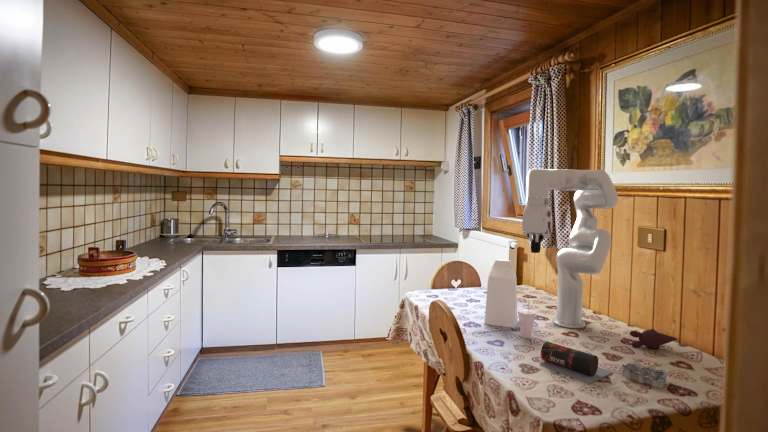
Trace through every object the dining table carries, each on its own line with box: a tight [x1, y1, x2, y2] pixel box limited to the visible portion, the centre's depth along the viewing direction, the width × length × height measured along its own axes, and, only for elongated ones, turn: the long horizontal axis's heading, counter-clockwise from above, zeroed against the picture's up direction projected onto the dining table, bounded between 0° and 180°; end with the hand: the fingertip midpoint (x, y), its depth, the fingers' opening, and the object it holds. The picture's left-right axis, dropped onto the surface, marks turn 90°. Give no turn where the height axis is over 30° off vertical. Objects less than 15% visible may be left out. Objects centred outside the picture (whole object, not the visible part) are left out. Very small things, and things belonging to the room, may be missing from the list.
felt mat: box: [539, 360, 614, 385], centre depth 126 cm, size 13×16×1 cm
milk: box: [483, 259, 518, 329], centre depth 171 cm, size 12×12×26 cm
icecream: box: [629, 328, 678, 350], centre depth 145 cm, size 7×7×15 cm
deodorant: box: [540, 341, 599, 376], centre depth 126 cm, size 6×6×15 cm
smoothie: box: [517, 299, 537, 339], centre depth 154 cm, size 6×6×14 cm
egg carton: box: [621, 361, 669, 389], centre depth 120 cm, size 11×8×4 cm
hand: (535, 252), depth 151 cm, fingers closed
